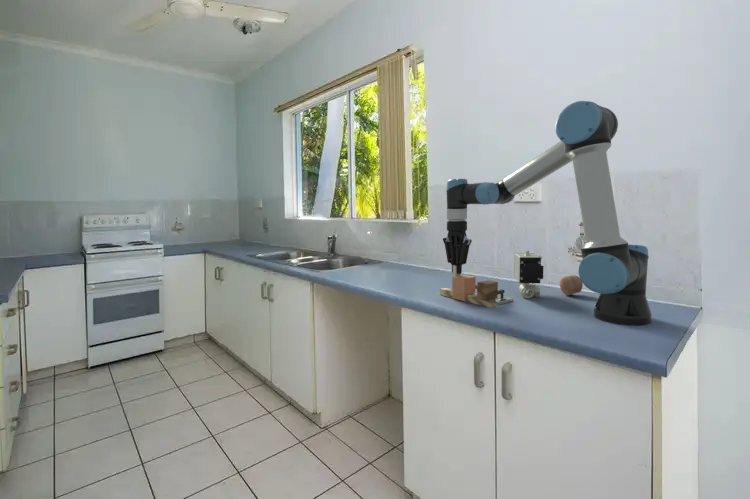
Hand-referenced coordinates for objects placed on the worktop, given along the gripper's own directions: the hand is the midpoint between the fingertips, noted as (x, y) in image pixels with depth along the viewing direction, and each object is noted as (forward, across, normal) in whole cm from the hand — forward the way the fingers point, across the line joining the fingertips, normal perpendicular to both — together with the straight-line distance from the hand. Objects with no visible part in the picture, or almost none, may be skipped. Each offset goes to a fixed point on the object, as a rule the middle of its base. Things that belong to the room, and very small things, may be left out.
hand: (456, 281), depth 153 cm
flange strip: (+6, -5, -8) cm, 12 cm away
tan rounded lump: (+7, -24, -37) cm, 45 cm away
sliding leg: (+6, -4, -3) cm, 8 cm away
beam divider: (+6, -5, -3) cm, 8 cm away
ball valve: (+7, -15, -23) cm, 28 cm away
